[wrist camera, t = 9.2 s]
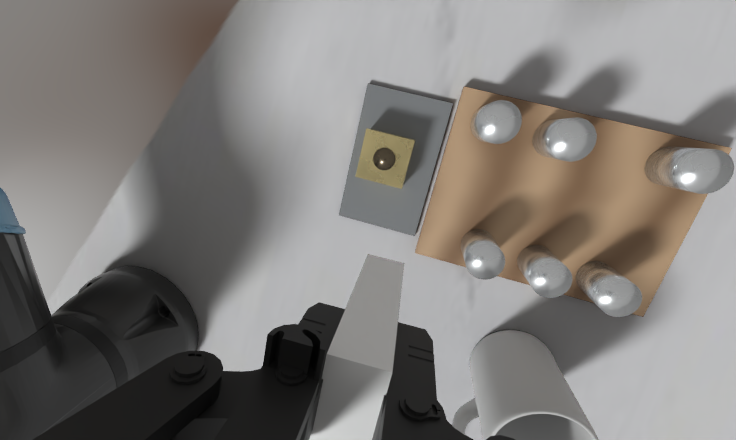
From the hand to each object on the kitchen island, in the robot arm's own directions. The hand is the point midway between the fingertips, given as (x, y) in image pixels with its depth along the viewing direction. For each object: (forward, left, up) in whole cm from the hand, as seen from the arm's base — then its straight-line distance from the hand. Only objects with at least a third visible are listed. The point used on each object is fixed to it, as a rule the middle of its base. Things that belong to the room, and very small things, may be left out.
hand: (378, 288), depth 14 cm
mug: (+14, -16, -21) cm, 30 cm away
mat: (-2, +3, -21) cm, 21 cm away
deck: (+13, +3, -21) cm, 25 cm away
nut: (-3, +3, -21) cm, 21 cm away
